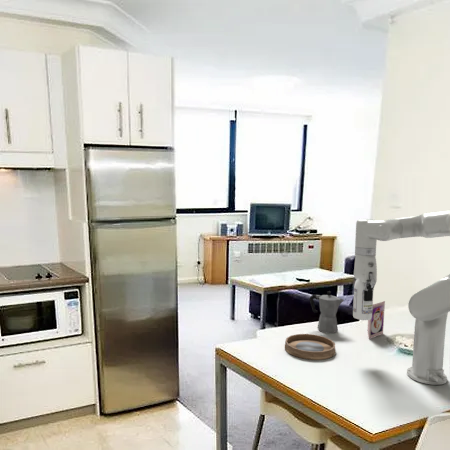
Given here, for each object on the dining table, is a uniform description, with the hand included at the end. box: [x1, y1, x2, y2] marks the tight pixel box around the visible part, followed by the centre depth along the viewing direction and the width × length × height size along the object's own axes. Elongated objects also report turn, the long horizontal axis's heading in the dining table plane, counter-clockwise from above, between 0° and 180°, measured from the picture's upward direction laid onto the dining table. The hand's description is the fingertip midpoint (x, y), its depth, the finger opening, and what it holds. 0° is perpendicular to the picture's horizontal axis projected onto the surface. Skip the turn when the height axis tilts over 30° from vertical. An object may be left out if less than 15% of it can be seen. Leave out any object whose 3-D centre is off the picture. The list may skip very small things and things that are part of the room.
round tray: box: [284, 333, 337, 361], centre depth 169 cm, size 20×20×3 cm
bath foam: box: [352, 278, 374, 321], centre depth 159 cm, size 7×7×20 cm
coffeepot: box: [308, 290, 345, 334], centre depth 192 cm, size 15×9×18 cm, turn 67°
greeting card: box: [366, 300, 386, 340], centre depth 187 cm, size 11×7×15 cm, turn 129°
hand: (363, 297), depth 160 cm, fingers closed on bath foam, 7 cm apart
